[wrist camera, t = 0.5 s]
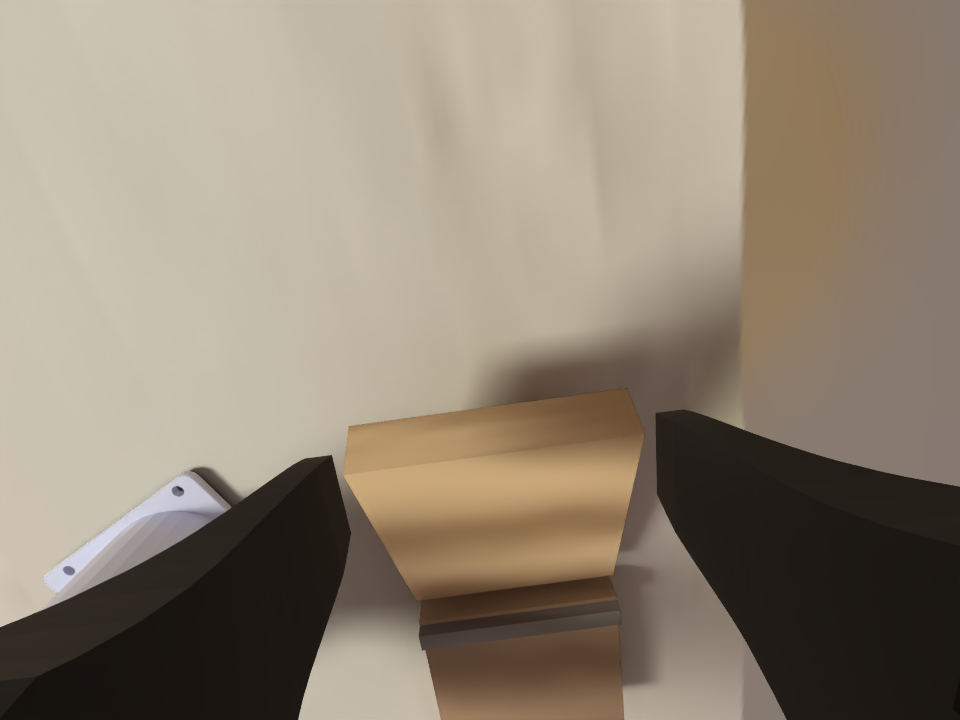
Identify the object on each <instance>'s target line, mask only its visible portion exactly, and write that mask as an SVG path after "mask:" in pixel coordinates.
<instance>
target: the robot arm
mask: <svg viewBox="0 0 960 720" xmlns="http://www.w3.org/2000/svg"><path fill="white" fill-rule="evenodd" d="M656 460H657V494H658V497H659V499H660V501H661V503H662V505H663V508H664V510H665V512H666V514H667V516H668V518H669V520H670V522H671V524H672V526H673V528H674V531H675V532H676V534H677V536H678V537H679V539H680V540H681V542H682V543H683V545H684V546H685V548H686V550H687V551H688V553H689V554H690V556H691V557H692V559H693V560H694V562H695V563H696V565H697V566H698V568H699V569H700V571H701V572H702V574H703V575H704V577H705V578H706V580H707V581H708V583H709V584H710V586H711V587H712V589H713V590H714V592H715V593H716V595H717V597H718V598H719V600H720V601H721V603H722V604H723V606H724V607H725V609H726V610H727V612H728V613H729V615H730V616H731V618H732V619H733V621H734V622H735V624H736V626H737V627H738V629H739V631H740V632H741V634H742V636H743V637H744V639H745V641H746V642H747V644H748V646H749V648H750V650H751V652H752V653H753V655H754V657H755V659H756V661H757V663H758V665H759V667H760V669H761V670H762V672H763V674H764V676H765V678H766V680H767V682H768V684H769V686H770V688H771V689H772V691H773V693H774V695H775V697H776V699H777V701H778V703H779V705H780V707H781V709H782V711H783V713H784V715H785V717H786V719H787V720H960V487H958V486H953V485H947V484H942V483H936V482H931V481H925V480H919V479H914V478H908V477H904V476H899V475H894V474H890V473H885V472H880V471H876V470H872V469H868V468H864V467H860V466H856V465H852V464H848V463H844V462H840V461H836V460H833V459H829V458H826V457H822V456H819V455H816V454H812V453H809V452H806V451H803V450H800V449H797V448H794V447H791V446H787V445H785V444H782V443H779V442H776V441H773V440H770V439H767V438H764V437H762V436H759V435H756V434H753V433H751V432H748V431H745V430H743V429H740V428H737V427H735V426H732V425H729V424H726V423H724V422H721V421H718V420H716V419H713V418H710V417H707V416H704V415H702V414H698V413H695V412H692V411H688V410H676V411H668V412H661V413H656ZM177 486H180V487H181V488H183V490H184V491H180V490H178V488H177ZM350 535H351V532H350V528H349V524H348V519H347V515H346V511H345V507H344V503H343V499H342V495H341V491H340V487H339V483H338V479H337V475H336V471H335V467H334V462H333V458H332V455H329V456H322V457H314V458H306V459H303V460H301V461H299V462H297V463H296V464H294V465H292V466H291V467H289V468H288V469H286V470H285V471H283V472H282V473H280V474H279V475H277V476H276V477H275V478H273V479H272V480H270V481H269V482H268V483H266V484H265V485H263V486H262V487H260V488H259V489H258V490H256V491H255V492H253V493H252V494H251V495H249V496H248V497H246V498H245V499H244V500H242V501H241V502H239V503H238V504H236V505H235V506H233V507H231V506H230V505H229V504H228V503H227V502H226V501H225V500H224V499H223V498H222V497H221V496H220V495H219V494H218V493H217V492H215V491H214V490H213V489H212V488H211V487H210V486H209V485H208V484H207V483H206V482H205V481H204V480H203V479H202V478H201V477H200V476H199V475H198V474H196V473H195V472H191V471H186V472H183V473H181V474H180V475H179V476H177V477H176V478H175V479H173V480H172V481H171V482H169V483H168V484H166V485H165V486H164V487H162V488H161V489H160V490H158V491H157V492H156V493H154V494H153V495H152V496H150V497H149V498H147V499H146V500H145V501H143V502H142V503H141V504H139V505H138V506H137V507H135V508H134V509H132V510H131V511H130V512H128V513H127V514H126V515H124V516H123V517H122V518H120V519H119V520H118V521H116V522H115V523H113V524H112V525H111V526H109V527H108V528H107V529H105V530H104V531H103V532H101V533H100V534H99V535H97V536H96V537H94V538H93V539H92V540H90V541H89V542H88V543H86V544H85V545H84V546H82V547H81V548H80V549H78V550H77V551H75V552H74V553H73V554H71V555H70V556H69V557H67V558H66V559H65V560H63V561H62V562H61V563H59V564H58V565H56V566H55V567H54V568H52V569H51V570H50V571H49V572H48V573H47V574H46V575H45V576H44V581H45V584H46V585H47V586H48V587H49V588H51V589H52V590H53V591H54V592H56V593H57V594H56V595H55V596H54V597H53V598H52V599H51V600H50V601H49V602H48V603H47V604H46V605H45V606H44V607H43V608H41V609H40V610H39V611H38V612H37V613H34V614H32V615H30V616H27V617H25V618H22V619H20V620H17V621H15V622H12V623H10V624H7V625H5V626H2V627H0V720H298V718H299V713H300V709H301V705H302V700H303V697H304V693H305V690H306V686H307V683H308V679H309V676H310V673H311V670H312V667H313V664H314V661H315V658H316V655H317V652H318V649H319V646H320V643H321V640H322V637H323V634H324V631H325V628H326V625H327V622H328V619H329V617H330V614H331V611H332V608H333V605H334V602H335V599H336V595H337V592H338V589H339V586H340V583H341V580H342V577H343V573H344V568H345V563H346V558H347V553H348V547H349V541H350ZM71 567H72V568H71ZM73 568H74V569H73Z"/></svg>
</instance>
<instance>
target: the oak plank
mask: <svg viewBox="0 0 960 720" xmlns="http://www.w3.org/2000/svg"><path fill="white" fill-rule="evenodd" d="M644 436H645V433H644V431H643V428H642V426H641V423H640V420H639V418H638V415H637V413H636V410H635V408H634V405H633V402H632V400H631V397H630V395H629V392H628V390H627V388H624V389H616V390H609V391H602V392H594V393H587V394H580V395H573V396H565V397H558V398H551V399H544V400H536V401H529V402H522V403H515V404H507V405H500V406H493V407H485V408H478V409H471V410H464V411H456V412H449V413H442V414H435V415H427V416H420V417H413V418H406V419H398V420H391V421H384V422H377V423H369V424H362V425H355V426H349V429H348V437H347V446H346V455H345V464H344V472H343V476H344V478H345V479H346V481H347V483H348V484H349V486H350V488H351V490H352V491H353V493H354V495H355V496H356V498H357V500H358V502H359V503H360V505H361V507H362V508H363V510H364V512H365V514H366V515H367V517H368V519H369V520H370V522H371V524H372V526H373V527H374V529H375V531H376V532H377V534H378V536H379V538H380V539H381V541H382V543H383V544H384V546H385V548H386V550H387V551H388V553H389V555H390V556H391V558H392V560H393V562H394V563H395V565H396V567H397V568H398V570H399V572H400V574H401V575H402V577H403V579H404V580H405V582H406V584H407V586H408V587H409V589H410V591H411V593H412V594H413V596H414V598H415V599H416V601H420V600H427V599H435V598H442V597H450V596H457V595H465V594H473V593H480V592H488V591H495V590H503V589H511V588H518V587H526V586H533V585H541V584H548V583H556V582H564V581H571V580H579V579H586V578H594V577H601V576H609V575H613V573H614V569H615V564H616V560H617V555H618V551H619V546H620V542H621V538H622V533H623V529H624V524H625V520H626V515H627V511H628V506H629V502H630V498H631V493H632V489H633V484H634V480H635V475H636V471H637V467H638V462H639V458H640V453H641V449H642V444H643V440H644Z"/></svg>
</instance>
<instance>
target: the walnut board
mask: <svg viewBox="0 0 960 720" xmlns="http://www.w3.org/2000/svg"><path fill="white" fill-rule="evenodd" d="M419 623H420V632H419V639H420V643H421V648H422V650H426V654H427V659H428V663H429V668H430V672H431V677H432V681H433V686H434V690H435V695H436V699H437V704H438V708H439V713H440V717H441V720H624V708H623V693H622V677H621V662H620V646H619V631H618V625H620V624H621V612H620V608H619V605H618V603H617V600H616V594H615V592H614V589H613V586H612V584H611V581H610V578H609V576H601V577H594V578H586V579H579V580H571V581H564V582H556V583H548V584H541V585H533V586H526V587H518V588H511V589H503V590H495V591H488V592H480V593H473V594H465V595H457V596H450V597H442V598H435V599H427V600H422V603H421V612H420V622H419Z"/></svg>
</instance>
